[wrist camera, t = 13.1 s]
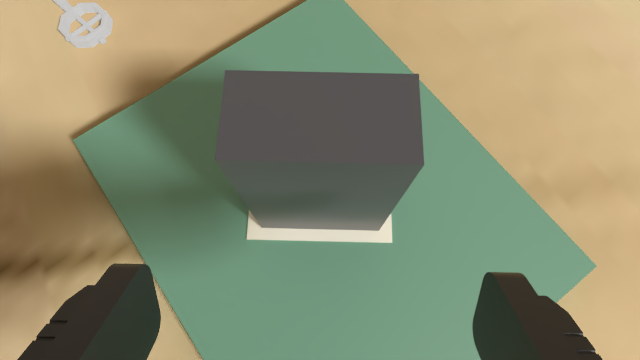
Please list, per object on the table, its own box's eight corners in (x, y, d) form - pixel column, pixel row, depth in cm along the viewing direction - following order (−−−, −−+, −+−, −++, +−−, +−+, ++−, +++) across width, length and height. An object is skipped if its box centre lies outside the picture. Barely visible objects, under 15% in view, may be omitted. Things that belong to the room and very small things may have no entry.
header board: (87, 150, 24) (35, 114, 19) (330, 3, 27) (331, -55, 23) (305, 512, 18) (300, 575, 14) (578, 269, 21) (643, 258, 17)
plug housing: (378, 230, 20) (424, 164, 11) (261, 227, 20) (214, 160, 11) (377, 175, 21) (418, 73, 12) (265, 172, 21) (225, 70, 12)
